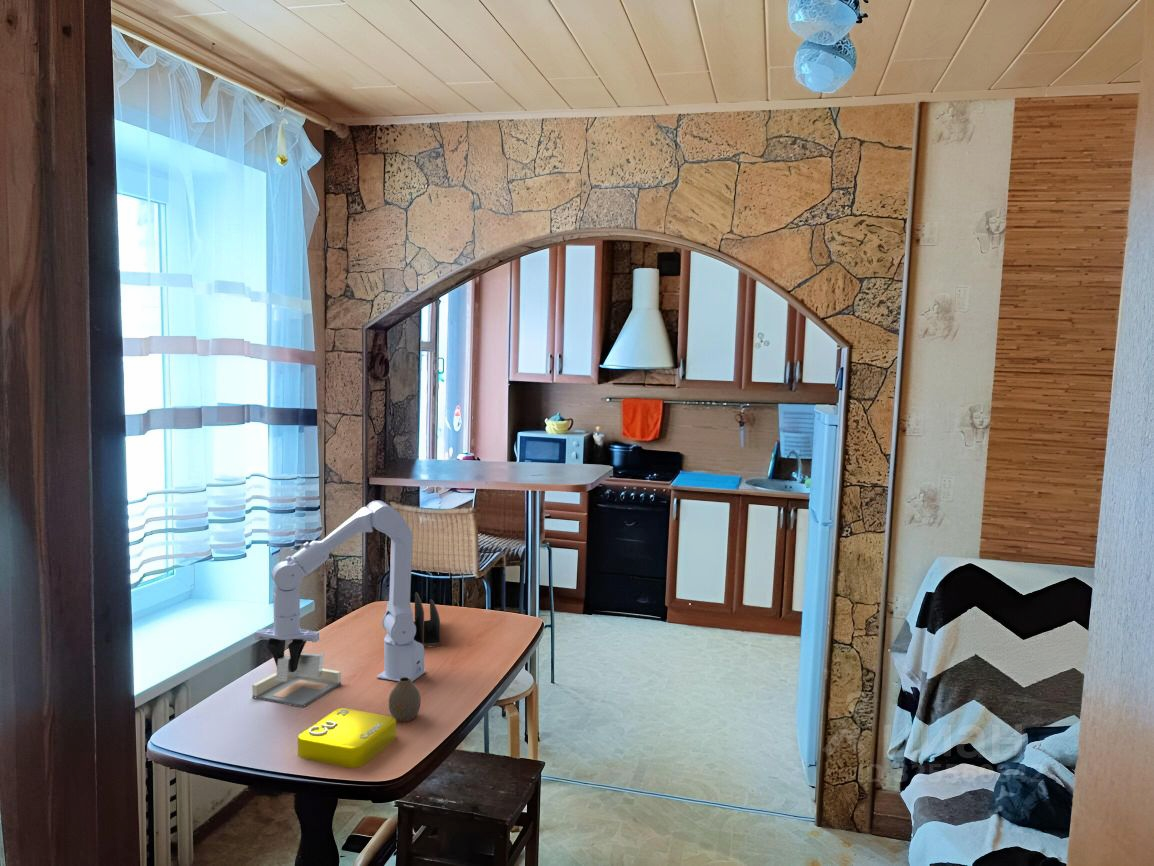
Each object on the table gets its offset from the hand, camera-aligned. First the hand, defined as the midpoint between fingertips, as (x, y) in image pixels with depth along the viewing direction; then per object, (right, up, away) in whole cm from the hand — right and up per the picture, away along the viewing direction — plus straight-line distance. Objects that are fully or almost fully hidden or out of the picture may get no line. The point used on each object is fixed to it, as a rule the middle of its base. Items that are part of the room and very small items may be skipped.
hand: (287, 670), depth 181 cm
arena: (+2, -6, +2) cm, 6 cm away
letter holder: (+22, -3, +41) cm, 47 cm away
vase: (+30, -7, -11) cm, 33 cm away
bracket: (+2, -2, +1) cm, 3 cm away
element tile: (+21, -9, -23) cm, 33 cm away
